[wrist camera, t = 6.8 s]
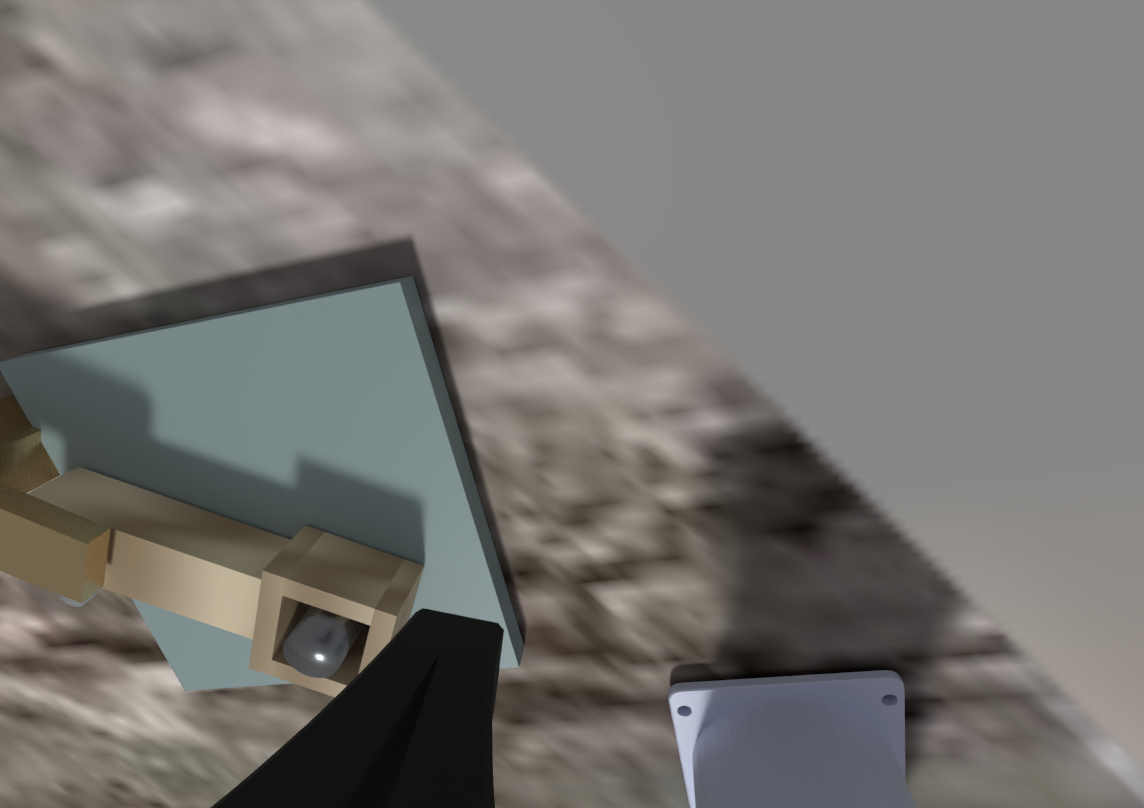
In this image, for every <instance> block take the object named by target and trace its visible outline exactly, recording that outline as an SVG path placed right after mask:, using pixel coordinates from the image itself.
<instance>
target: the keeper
mask: <svg viewBox="0 0 1144 808" xmlns="http://www.w3.org/2000/svg"><path fill="white" fill-rule="evenodd" d="M41 431H42V430H40V429H38V428H35V427H33V426H32V425H31V423H30V422H29V420H28V418H27V416H26V415H25V413H24V411H23V410H22V408H21V406H20V404H19V403H18V401H17V399H16V397H15V396H14V395H11V396H8V397H6V398H3V399H0V571H2V572H5V573H7V574H10V575H12V576H15V577H17V578H20V579H22V580H25V581H27V582H30V583H32V584H35V585H37V586H40V587H42V588H44V589H47V590H49V591H52V592H54V593H57V594H59V595H62V596H64V597H67V598H69V599H72V600H74V601H77V602H79V603H83V602H84V601H85V600H87V599H88V598H89V597H90V596H92V595H93V594H94V593H95V592H97V591H98V590H99V589H101V588H102V587H103V586H104V579H105V571H106V562H107V554H108V545H109V537H110V528H109V527H106V526H104V525H101V524H99V523H97V522H94V521H92V520H89V519H87V518H84V517H82V516H80V515H77V514H75V513H72V512H70V511H67V510H65V509H63V508H60V507H58V506H55V505H53V504H50V503H48V502H46V501H43V500H41V499H38V498H36V497H33V496H31V495H29V494H26V493H27V492H29V491H31V490H33V489H35V488H37V487H38V486H40V485H42V484H44V483H46V482H48V481H50V480H51V479H53V478H55V477H57V476H59V475H60V474H59V472H58V470H57V468H56V467H55V465H54V463H53V461H52V460H51V458H50V456H49V455H48V453H47V451H46V449H45V448H44V446H43V444H42V442H41Z"/></svg>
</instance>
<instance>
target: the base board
mask: <svg viewBox="0 0 1144 808" xmlns="http://www.w3.org/2000/svg"><path fill="white" fill-rule="evenodd" d="M0 371H1V373H2V375H3V377H4V378H5V380H6V382H7V384H8V385H9V387H10V389H11V390H12V392H13V394H14V396H15V397H16V399H17V401H18V403H19V404H20V406H21V408H22V410H23V411H24V413H25V415H26V416H27V418H28V420H29V422H30V423H31V425H32V426H33V427H35V428H38V429H40V430H42V431H41V442H42V444H43V446H44V448H45V449H46V451H47V453H48V455H49V456H50V458H51V460H52V461H53V463H54V465H55V467H56V468H57V470H58V472H59V474H60V475H61V476H62V475H64V474H66V473H68V472H70V471H71V470H73V469H75V468H77V467H81V468H84V469H87V470H90V471H93V472H96V473H99V474H101V475H104V476H107V477H110V478H113V479H116V480H119V481H122V482H125V483H128V484H131V485H133V486H136V487H139V488H142V489H145V490H148V491H151V492H154V493H157V494H160V495H162V496H165V497H168V498H171V499H174V500H177V501H180V502H183V503H186V504H189V505H192V506H194V507H197V508H200V509H203V510H206V511H209V512H212V513H215V514H218V515H221V516H224V517H226V518H229V519H232V520H235V521H238V522H241V523H244V524H247V525H250V526H253V527H255V528H258V529H261V530H264V531H267V532H270V533H273V534H276V535H279V536H282V537H285V538H287V539H290V540H291V539H292V538H293V537H294V536H295V535H296V534H297V533H298V532H299V531H300V530H301V529H302V528H303V527H304V525H307V526H310V527H312V528H315V529H318V530H321V531H324V532H327V533H330V534H333V535H336V536H339V537H341V538H344V539H347V540H350V541H353V542H356V543H359V544H362V545H365V546H368V547H370V548H373V549H376V550H379V551H382V552H385V553H388V554H391V555H394V556H397V557H399V558H402V559H405V560H408V561H411V562H414V563H417V564H420V565H423V566H424V569H423V572H422V576H421V579H420V583H419V586H418V590H417V593H416V597H415V601H414V604H413V608H412V611H411V615H410V618H411V617H412V616H413V615H414V614H415V612H417V611H419V610H420V609H422V608H425V609H430V610H435V611H440V612H445V613H450V614H455V615H460V616H465V617H470V618H475V619H481V620H486V621H491V622H496V623H499V625H500V626H501V627H502V628H503V629H504V635H503V643H502V651H501V659H500V667H499V669H503V668H517V667H519V665H520V662H521V658H522V654H523V650H524V644H523V641H522V637H521V634H520V631H519V627H518V624H517V621H516V617H515V614H514V611H513V607H512V604H511V601H510V597H509V594H508V591H507V587H506V584H505V581H504V577H503V574H502V571H501V567H500V564H499V561H498V557H497V554H496V551H495V547H494V544H493V541H492V537H491V534H490V531H489V527H488V524H487V521H486V517H485V514H484V511H483V507H482V504H481V501H480V498H479V494H478V491H477V488H476V484H475V481H474V478H473V474H472V471H471V468H470V464H469V461H468V458H467V454H466V451H465V448H464V444H463V441H462V438H461V434H460V431H459V428H458V424H457V421H456V418H455V414H454V411H453V408H452V404H451V401H450V398H449V394H448V391H447V388H446V384H445V381H444V378H443V374H442V371H441V368H440V364H439V361H438V358H437V354H436V351H435V348H434V345H433V341H432V338H431V335H430V331H429V328H428V325H427V321H426V318H425V315H424V311H423V308H422V305H421V301H420V298H419V295H418V291H417V288H416V285H415V281H414V278H413V276H408V277H403V278H398V279H393V280H388V281H383V282H378V283H373V284H368V285H363V286H358V287H353V288H349V289H344V290H339V291H334V292H329V293H324V294H319V295H314V296H309V297H304V298H299V299H294V300H289V301H284V302H279V303H274V304H269V305H264V306H259V307H254V308H249V309H244V310H239V311H234V312H229V313H224V314H219V315H215V316H210V317H205V318H200V319H195V320H190V321H185V322H180V323H175V324H170V325H165V326H160V327H155V328H150V329H145V330H140V331H135V332H130V333H125V334H120V335H115V336H110V337H105V338H100V339H95V340H90V341H86V342H81V343H76V344H71V345H66V346H61V347H56V348H51V349H46V350H41V351H36V352H31V353H26V354H23V355H19V356H16V357H13V358H10V359H7V360H4V361H1V362H0ZM102 589H103V588H101V589H99V590H98V591H97V592H95V593H94V594H93V595H92V596H90V597H89V598H88V599H87V600H85V601H84V602H83V603H79V602H77V601H74V600H72V599H69V598H67V597H64V596H62V595H59V594H57V595H58V596H59V598H60V599H61V600H62V601H63V602H65V603H66V604H68V605H70V606H74V607H79V606H82V605H84V604H85V603H86V602H87V601H89V600H90V599H91V598H92V597H94V596H95V595H96V594H97V593H99V592H100V591H101V590H102ZM132 600H133V602H134V603H135V605H136V607H137V609H138V610H139V612H140V614H141V616H142V617H143V619H144V621H145V622H146V624H147V626H148V628H149V629H150V631H151V633H152V635H153V636H154V638H155V640H156V641H157V643H158V645H159V647H160V648H161V650H162V652H163V654H164V655H165V657H166V659H167V661H168V662H169V664H170V666H171V667H172V669H173V671H174V673H175V674H176V676H177V678H178V680H179V681H180V683H181V685H182V687H183V688H184V690H185V691H188V690H203V689H217V688H231V687H246V686H260V685H274V684H289V683H291V682H288V681H285V680H282V679H279V678H277V677H274V676H271V675H268V674H265V673H262V672H259V671H256V670H253V669H250V668H249V663H250V656H251V649H252V642H253V639H250V638H247V637H244V636H241V635H238V634H235V633H232V632H229V631H226V630H223V629H221V628H218V627H215V626H212V625H209V624H206V623H203V622H200V621H197V620H194V619H191V618H188V617H185V616H182V615H179V614H176V613H174V612H171V611H168V610H165V609H162V608H159V607H156V606H153V605H150V604H147V603H144V602H141V601H138V600H135V599H132ZM410 618H409V619H410ZM364 627H367V628H370V625H367V624H365V625H364Z"/></svg>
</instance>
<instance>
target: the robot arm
mask: <svg viewBox="0 0 1144 808" xmlns="http://www.w3.org/2000/svg"><path fill="white" fill-rule="evenodd" d="M503 635H504V629H503V628H502V627H501V626H500V625H499V623H496V622H491V621H486V620H481V619H475V618H470V617H465V616H460V615H455V614H450V613H445V612H440V611H435V610H430V609H425V608H422V609H420V610H419V611H417V612H415V614H414V615H413V616H412V617H411V618H410V619H409V621H408V622H407V623H406V624H405V625H404V626H403V627H402V629H401V630H400V631H399V632H398V633H397V634H396V635H395V636H394V637H393V639H392V640H391V641H390V642H389V643H388V644H387V645H386V646H385V647H384V648H383V649H382V650H381V652H380V653H379V654H378V655H377V656H376V657H375V658H374V659H373V660H372V661H371V662H370V663H369V664H368V665H367V666H366V667H365V668H364V669H363V670H362V671H361V672H360V673H359V674H358V675H357V676H356V677H355V678H354V679H353V680H352V681H351V682H350V683H349V684H348V685H347V686H346V687H345V688H344V689H343V690H342V691H341V692H340V693H339V694H338V695H337V696H336V697H335V698H334V699H333V700H332V701H331V702H330V703H329V704H328V705H327V706H326V707H325V708H324V709H323V710H322V711H321V712H320V713H319V714H318V715H317V716H315V717H314V718H313V719H312V720H311V721H310V722H309V723H308V724H307V725H306V726H305V727H304V728H302V729H301V730H300V731H299V732H298V733H297V734H296V735H295V736H294V737H292V738H291V739H290V740H289V741H288V742H287V743H286V744H285V745H283V746H282V747H281V748H280V749H279V750H278V751H277V752H276V753H275V754H273V755H272V756H271V757H270V758H269V759H268V760H267V761H266V762H264V763H263V764H262V765H261V766H260V767H259V768H258V769H257V770H255V771H254V772H253V773H252V774H251V775H249V776H248V777H247V778H246V779H245V780H244V781H242V782H241V783H240V784H239V785H238V786H236V787H235V788H234V789H233V790H232V791H230V792H229V793H228V794H227V795H226V796H224V797H223V798H222V799H221V800H219V801H218V802H217V803H216V804H214V805H213V806H212V807H211V808H495V803H494V787H493V764H492V718H493V713H494V706H495V698H496V691H497V683H498V675H499V667H500V659H501V651H502V643H503ZM889 694H890V696H885V695H889ZM669 704H670V709H671V714H672V719H673V724H674V729H675V734H676V739H677V744H678V749H679V754H680V759H681V765H682V770H683V775H684V780H685V785H686V790H687V795H688V800H689V805H690V808H916V805H915V803H914V800H913V798H912V796H911V793H910V791H909V788H908V786H907V783H906V770H905V690H904V684H903V682H902V680H901V678H900V676H899V675H898V674H897V673H896V672H893V671H889V670H879V671H863V672H847V673H831V674H815V675H799V676H782V677H766V678H750V679H734V680H718V681H702V682H685V683H677V684H674V685H673V686H671V687H670V689H669ZM681 706H688V707H681Z"/></svg>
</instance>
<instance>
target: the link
mask: <svg viewBox="0 0 1144 808" xmlns="http://www.w3.org/2000/svg"><path fill="white" fill-rule="evenodd" d="M29 495H31V496H33V497H36V498H38V499H41V500H43V501H46V502H48V503H50V504H53V505H55V506H58V507H60V508H63V509H65V510H67V511H70V512H72V513H75V514H77V515H80V516H82V517H84V518H87V519H89V520H92V521H94V522H97V523H99V524H101V525H104V526H106V527H109V528H110V537H109V545H108V554H107V562H106V571H105V579H104V586H103V587H102V588H103V589H106V590H109V591H112V592H115V593H118V594H121V595H124V596H127V597H129V598H132V599H135V600H138V601H141V602H144V603H147V604H150V605H153V606H156V607H159V608H162V609H165V610H168V611H171V612H174V613H176V614H179V615H182V616H185V617H188V618H191V619H194V620H197V621H200V622H203V623H206V624H209V625H212V626H215V627H218V628H221V629H223V630H226V631H229V632H232V633H235V634H238V635H241V636H244V637H247V638H250V639H253V642H252V649H251V656H250V663H249V668H250V669H253V670H256V671H259V672H262V673H265V674H268V675H271V676H274V677H277V678H279V679H282V680H285V681H288V682H291V683H294V684H297V685H300V686H303V687H306V688H309V689H312V690H315V691H318V692H321V693H324V694H327V695H330V696H333V697H336V696H337V695H338V694H339V693H340V692H341V691H342V690H343V689H344V688H345V687H346V686H347V685H348V684H349V683H350V682H351V681H352V680H353V679H354V678H355V677H356V676H357V675H358V674H359V673H360V672H361V671H362V670H363V669H364V668H365V667H366V666H367V665H368V664H369V663H370V662H371V661H372V660H373V659H374V658H375V657H376V656H377V655H378V654H379V653H380V652H381V650H382V649H383V648H384V647H385V646H386V645H387V644H388V643H389V642H390V641H391V640H392V639H393V637H394V636H395V635H396V634H397V633H398V632H399V631H400V630H401V629H402V627H403V626H404V625H405V624H406V623H407V622H408V621H409V618H410V615H411V611H412V608H413V604H414V601H415V597H416V593H417V590H418V586H419V583H420V579H421V576H422V572H423V569H424V566H423V565H420V564H417V563H414V562H411V561H408V560H405V559H402V558H399V557H397V556H394V555H391V554H388V553H385V552H382V551H379V550H376V549H373V548H370V547H368V546H365V545H362V544H359V543H356V542H353V541H350V540H347V539H344V538H341V537H339V536H336V535H333V534H330V533H327V532H324V531H321V530H318V529H315V528H312V527H310V526H307V525H304V527H303V528H302V529H301V530H300V531H299V532H298V533H297V534H296V535H295V536H294V537H293V538H292V539H291V540H290V539H287V538H285V537H282V536H279V535H276V534H273V533H270V532H267V531H264V530H261V529H258V528H255V527H253V526H250V525H247V524H244V523H241V522H238V521H235V520H232V519H229V518H226V517H224V516H221V515H218V514H215V513H212V512H209V511H206V510H203V509H200V508H197V507H194V506H192V505H189V504H186V503H183V502H180V501H177V500H174V499H171V498H168V497H165V496H162V495H160V494H157V493H154V492H151V491H148V490H145V489H142V488H139V487H136V486H133V485H131V484H128V483H125V482H122V481H119V480H116V479H113V478H110V477H107V476H104V475H101V474H99V473H96V472H93V471H90V470H87V469H84V468H81V467H77V468H75V469H73V470H71V471H70V472H68V473H66V474H64V475H62V476H60V477H58V478H57V479H55V480H53V481H51V482H49V483H47V484H46V485H44V486H42V487H40V488H38V489H36V490H35V491H33V492H31V493H29ZM311 606H314V607H317V608H320V609H323V610H326V611H329V612H332V613H335V614H338V615H341V616H343V617H346V618H349V619H352V620H355V621H358V622H361V623H364V624H367V625H370V628H367V627H363V629H362V630H361V632H360V633H359V635H358V637H357V638H356V640H355V642H354V643H353V645H352V647H351V648H350V650H349V652H348V653H347V655H346V657H345V658H344V660H343V662H342V663H341V665H340V667H339V668H338V670H337V671H336V672H335V673H334V674H333V675H331V676H329V677H325V678H314V677H309V676H306V675H304V674H302V673H300V672H298V671H297V670H295V669H294V668H293V667H292V666H291V665H290V664H289V663H288V662H287V660H286V658H285V656H284V653H283V645H284V642H285V640H286V639H287V638H288V636H289V635H290V634H291V632H292V631H293V630H294V628H295V627H296V626H297V624H298V623H299V622H300V620H301V619H302V618H303V616H304V615H305V614H306V612H307V611H308V610H309V608H310V607H311Z"/></svg>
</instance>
